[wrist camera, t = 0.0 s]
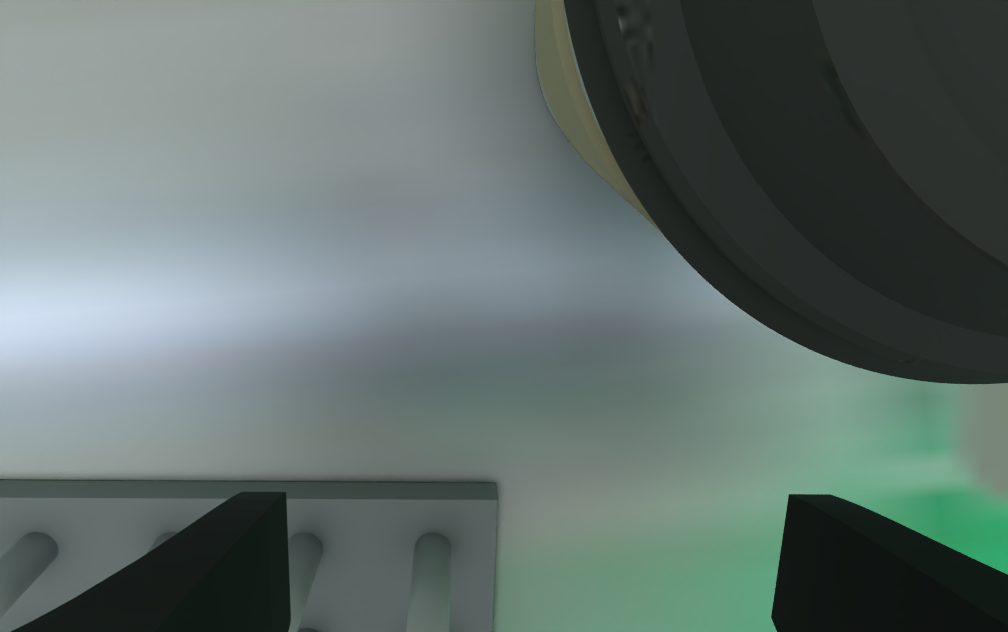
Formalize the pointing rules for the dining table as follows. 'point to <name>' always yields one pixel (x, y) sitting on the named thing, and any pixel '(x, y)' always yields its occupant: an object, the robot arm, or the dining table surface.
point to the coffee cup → (810, 161)
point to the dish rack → (311, 546)
